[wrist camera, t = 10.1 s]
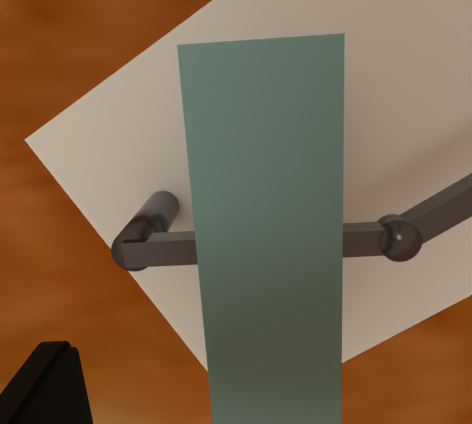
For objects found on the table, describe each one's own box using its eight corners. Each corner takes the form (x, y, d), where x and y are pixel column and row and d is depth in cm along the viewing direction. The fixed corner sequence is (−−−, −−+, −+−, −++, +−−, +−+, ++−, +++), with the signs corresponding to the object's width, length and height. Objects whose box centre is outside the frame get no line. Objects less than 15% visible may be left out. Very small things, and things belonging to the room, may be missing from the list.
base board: (473, -187, 22) (488, -205, 21) (633, 192, 28) (655, 198, 26) (35, 136, 28) (24, 139, 26) (242, 401, 33) (242, 415, 32)
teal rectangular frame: (305, 60, 25) (387, 30, 10) (309, 311, 29) (369, 535, 15) (200, 67, 25) (135, 47, 10) (220, 315, 29) (194, 538, 15)
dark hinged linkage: (557, 59, 24) (708, 49, 16) (567, 144, 26) (712, 173, 18) (143, 195, 27) (100, 242, 19) (171, 265, 29) (142, 336, 21)
